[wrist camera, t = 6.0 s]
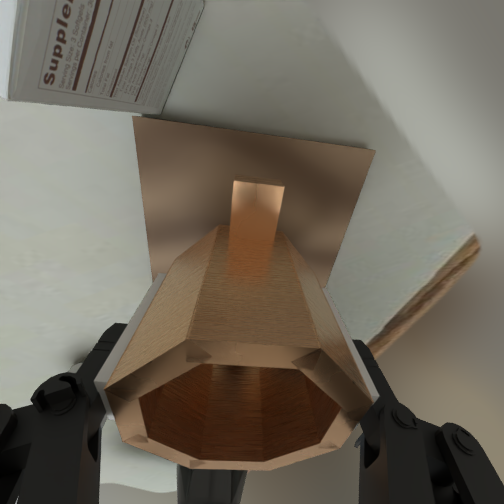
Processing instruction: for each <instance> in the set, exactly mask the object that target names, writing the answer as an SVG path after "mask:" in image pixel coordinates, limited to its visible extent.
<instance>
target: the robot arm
mask: <svg viewBox="0 0 504 504" xmlns="http://www.w3.org/2000/svg"><path fill="white" fill-rule="evenodd" d="M165 276H166V274H164V273H159V274H158V275H157V277H156V279H155V280H154V282H153V284H152V285H151V287H150V289H149V290H148V292H147V294H146V295H145V297H144V299H143V300H142V302H141V304H140V305H139V307H138V308H137V310H136V312H135V313H134V315H133V317H132V318H131V320H130V322H129V323H128V324H122V323H115V324H113V325H112V326H111V327H110V328H108V329H107V330H106V331H105V332H104V333H103V335H102V336H101V338H100V339H99V341H98V343H96V345H95V346H94V348H93V350H92V351H91V352H90V353H89V355H88V356H87V358H86V359H85V361H84V362H83V363H82V365H81V366H80V368H79V369H78V371H77V372H76V373H72V372H66V373H60V374H58V375H56V376H53V377H51V378H49V379H48V380H47V381H45V382H44V383H42V384H41V385H40V386H39V387H38V388H37V389H36V391H35V392H34V394H33V396H32V397H31V399H30V400H31V402H32V403H33V405H29V406H25V407H21V408H17V409H13V410H12V409H11V407H9V406H8V405H6V404H0V504H15V502H16V500H17V498H18V501H17V504H99V486H100V460H101V434H102V429H101V422H102V420H103V418H104V416H105V414H106V415H107V417H108V420H115V418H114V416H113V413H112V410H111V407H110V405H109V402H108V399H107V396H106V394H105V391H104V390H103V389H104V387H105V385H106V384H107V382H108V380H109V378H110V376H111V375H112V373H113V371H114V369H115V367H116V365H117V364H118V362H119V360H120V358H121V356H122V355H123V353H124V351H125V349H126V347H127V345H128V344H129V342H130V340H131V338H132V336H133V335H134V333H135V331H136V329H137V327H138V325H139V324H140V322H141V320H142V318H143V316H144V314H145V313H146V311H147V309H148V307H149V305H150V304H151V302H152V300H153V298H154V296H155V294H156V293H157V291H158V289H159V287H160V285H161V284H162V282H163V280H164V278H165ZM322 290H323V292H324V295H325V297H326V299H327V301H328V303H329V306H330V308H331V310H332V312H333V314H334V316H335V319H336V321H337V323H338V325H339V327H340V329H341V332H342V334H343V336H344V338H345V340H346V342H347V345H348V347H349V349H350V351H351V353H352V355H353V358H354V360H355V362H356V364H357V366H358V369H359V371H360V373H361V375H362V377H363V379H364V382H365V384H366V386H367V388H368V390H369V392H370V395H371V397H372V399H373V401H374V403H373V404H372V405H371V407H370V408H369V409H368V411H367V412H366V414H365V415H364V416H363V418H362V419H361V420H360V422H359V423H360V425H361V428H362V430H363V433H362V435H361V436H360V437H359V438H358V440H357V441H356V442H355V447H356V448H358V446H359V445H360V477H359V504H504V485H503V483H502V481H501V480H500V478H499V476H498V475H497V473H496V471H495V469H494V467H493V466H492V464H491V462H490V460H489V459H488V457H487V455H486V453H485V452H484V450H483V448H482V447H481V445H480V444H479V442H478V441H477V440H476V439H475V438H474V437H473V436H472V435H471V434H470V433H469V432H468V431H466V430H465V429H464V428H462V427H461V426H459V425H456V424H454V423H445V424H444V425H443V426H441V427H438V426H436V425H433V424H431V423H428V422H426V421H423V420H420V419H418V418H416V416H415V415H414V414H413V413H412V412H411V411H410V410H409V409H408V408H407V407H406V406H404V405H403V404H401V403H399V402H398V400H397V399H396V397H395V395H394V393H393V391H392V390H391V388H390V386H389V384H388V382H387V381H386V379H385V377H384V375H383V373H382V371H381V370H380V368H379V366H378V364H377V362H376V360H374V357H373V355H372V353H371V351H370V350H369V348H368V347H367V346H366V345H365V344H364V343H363V342H362V341H361V340H352V339H351V337H350V335H349V333H348V331H347V329H346V327H345V325H344V323H343V321H342V319H341V316H340V314H339V312H338V310H337V308H336V306H335V304H334V302H333V300H332V298H331V296H330V294H329V292H328V290H327V288H322ZM359 423H358V424H359ZM358 424H357V426H358ZM357 426H356V427H357ZM356 427H355V428H356ZM355 428H354V429H355ZM246 475H247V470H225V469H190V468H188V467H185V466H183V465H180V464H177V495H178V496H177V497H178V504H240V501H241V496H242V492H243V487H244V484H245V479H246ZM18 496H19V497H18Z"/></svg>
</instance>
